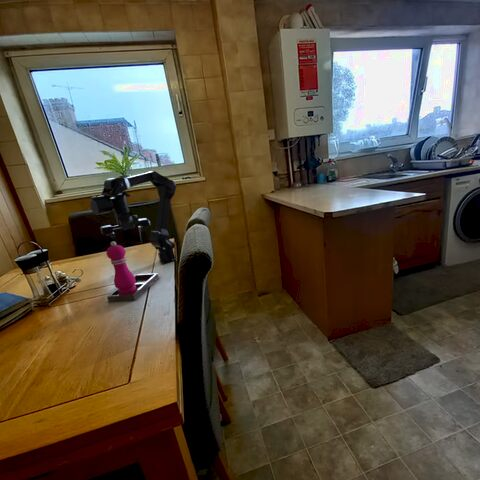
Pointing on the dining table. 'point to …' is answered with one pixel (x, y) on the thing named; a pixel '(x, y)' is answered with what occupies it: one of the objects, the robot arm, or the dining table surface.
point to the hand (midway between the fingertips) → (131, 245)
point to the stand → (141, 283)
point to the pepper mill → (121, 270)
